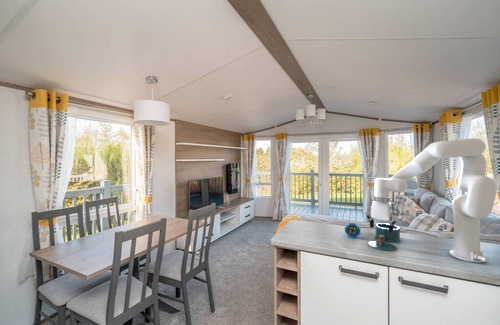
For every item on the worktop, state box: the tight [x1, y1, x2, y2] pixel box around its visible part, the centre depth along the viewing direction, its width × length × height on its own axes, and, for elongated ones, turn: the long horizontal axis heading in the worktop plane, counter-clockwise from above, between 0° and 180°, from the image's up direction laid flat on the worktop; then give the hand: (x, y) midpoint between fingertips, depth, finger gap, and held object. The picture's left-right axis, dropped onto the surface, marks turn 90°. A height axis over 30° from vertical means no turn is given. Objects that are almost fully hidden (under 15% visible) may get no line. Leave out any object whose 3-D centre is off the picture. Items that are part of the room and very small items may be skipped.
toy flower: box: [344, 222, 362, 239], centre depth 145 cm, size 9×9×18 cm
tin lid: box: [367, 235, 397, 252], centre depth 124 cm, size 14×14×7 cm
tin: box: [375, 222, 401, 244], centre depth 136 cm, size 13×13×8 cm
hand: (380, 229), depth 124 cm, fingers open, 9 cm apart
